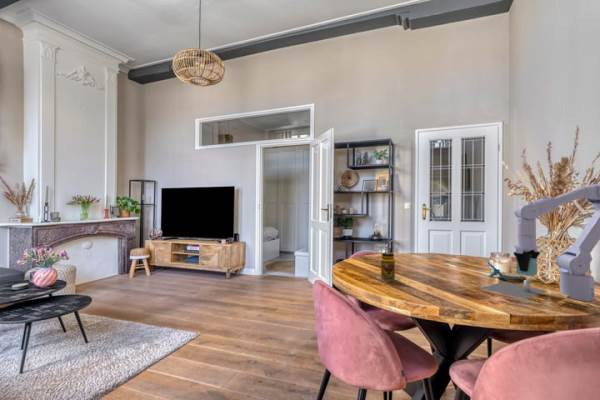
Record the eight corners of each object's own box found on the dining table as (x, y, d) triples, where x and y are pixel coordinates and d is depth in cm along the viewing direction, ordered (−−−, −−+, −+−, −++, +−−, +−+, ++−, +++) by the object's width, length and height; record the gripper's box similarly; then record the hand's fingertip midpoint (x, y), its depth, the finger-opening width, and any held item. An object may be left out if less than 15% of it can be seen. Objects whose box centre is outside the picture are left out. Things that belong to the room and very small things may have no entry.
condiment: (387, 281, 136) (387, 255, 136) (374, 277, 144) (374, 252, 144) (399, 279, 140) (399, 253, 140) (386, 276, 147) (386, 251, 147)
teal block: (537, 274, 118) (537, 258, 118) (531, 276, 115) (531, 260, 115) (522, 272, 122) (522, 257, 122) (516, 273, 119) (516, 258, 119)
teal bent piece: (509, 279, 134) (490, 261, 139) (498, 287, 136) (480, 270, 140) (507, 277, 144) (489, 261, 148) (496, 285, 145) (479, 269, 150)
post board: (546, 293, 119) (546, 280, 119) (527, 301, 109) (527, 287, 109) (501, 284, 132) (501, 272, 132) (480, 290, 122) (480, 278, 122)
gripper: (522, 233, 126) (522, 266, 126) (506, 235, 118) (506, 270, 118) (543, 235, 120) (543, 269, 120) (528, 237, 112) (528, 274, 112)
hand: (526, 270), depth 118 cm, fingers closed on teal block, 5 cm apart
